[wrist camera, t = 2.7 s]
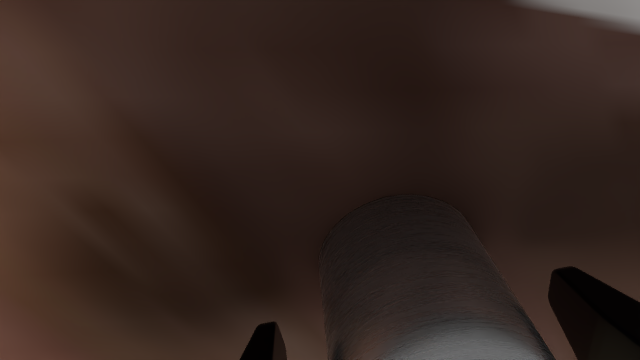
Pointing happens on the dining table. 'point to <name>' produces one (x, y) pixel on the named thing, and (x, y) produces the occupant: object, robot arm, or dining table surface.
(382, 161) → the dining table surface
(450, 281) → the steel pin
